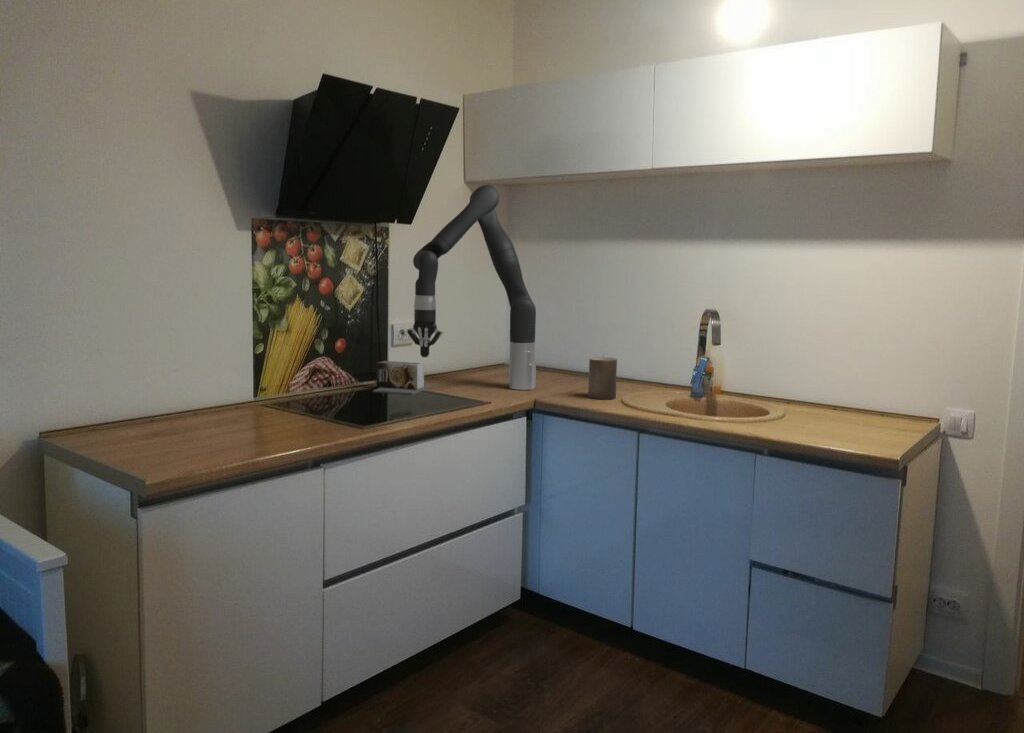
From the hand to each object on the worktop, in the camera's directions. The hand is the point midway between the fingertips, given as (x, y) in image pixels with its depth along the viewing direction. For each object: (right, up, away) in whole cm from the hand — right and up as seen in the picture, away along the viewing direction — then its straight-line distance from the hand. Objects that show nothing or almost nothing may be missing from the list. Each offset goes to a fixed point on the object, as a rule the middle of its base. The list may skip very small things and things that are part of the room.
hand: (424, 357), depth 269 cm
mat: (-8, -12, +4) cm, 15 cm away
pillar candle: (+62, -14, -5) cm, 64 cm away
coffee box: (-1, -7, +2) cm, 7 cm away
